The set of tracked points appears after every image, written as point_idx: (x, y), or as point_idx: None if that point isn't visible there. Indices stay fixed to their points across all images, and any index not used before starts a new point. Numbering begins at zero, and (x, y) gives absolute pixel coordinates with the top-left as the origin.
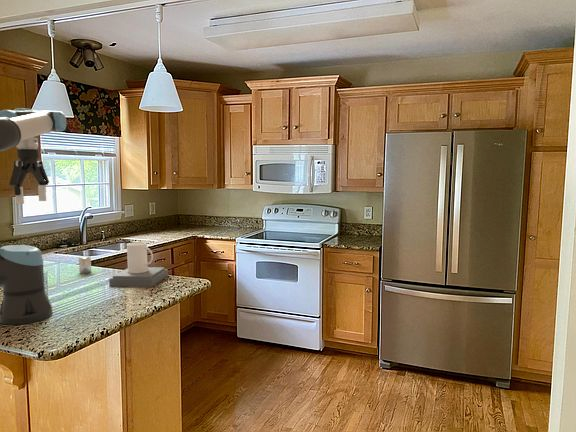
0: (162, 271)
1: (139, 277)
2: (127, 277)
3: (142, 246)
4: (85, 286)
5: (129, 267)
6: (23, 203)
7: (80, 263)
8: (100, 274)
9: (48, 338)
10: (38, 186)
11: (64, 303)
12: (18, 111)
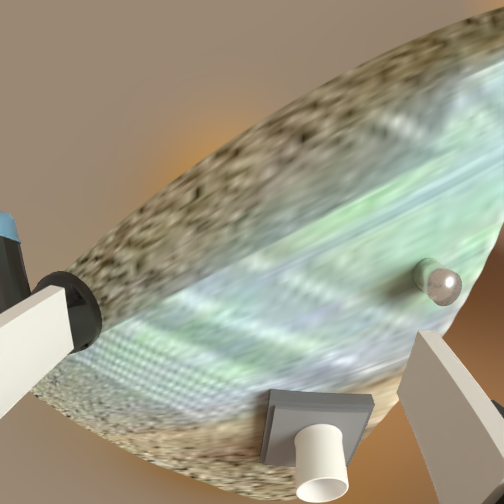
0: None
1: (267, 449)
2: (270, 431)
3: (304, 497)
4: (270, 339)
5: (301, 440)
6: (66, 347)
7: (427, 277)
8: (396, 325)
9: None
10: (497, 461)
11: (139, 344)
12: None
